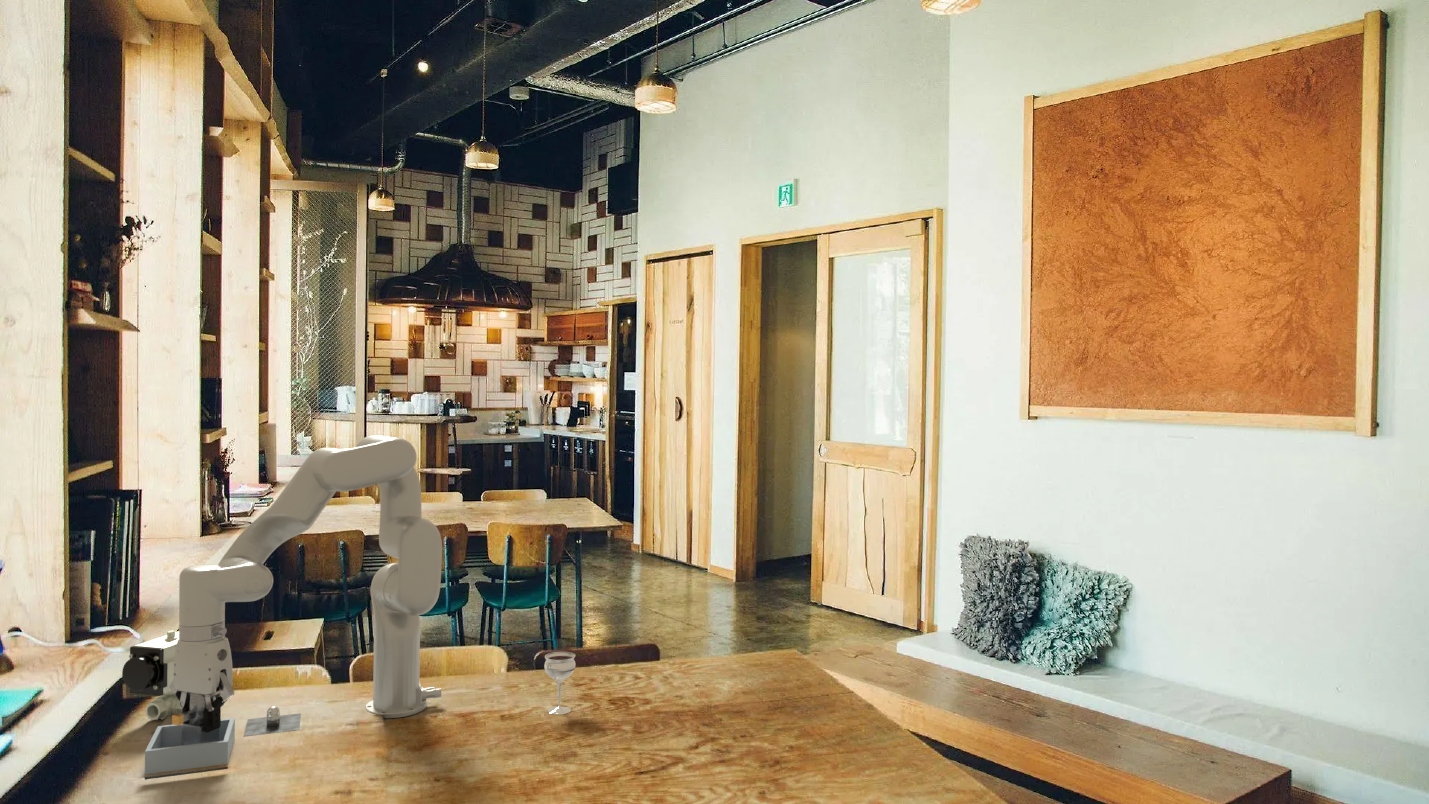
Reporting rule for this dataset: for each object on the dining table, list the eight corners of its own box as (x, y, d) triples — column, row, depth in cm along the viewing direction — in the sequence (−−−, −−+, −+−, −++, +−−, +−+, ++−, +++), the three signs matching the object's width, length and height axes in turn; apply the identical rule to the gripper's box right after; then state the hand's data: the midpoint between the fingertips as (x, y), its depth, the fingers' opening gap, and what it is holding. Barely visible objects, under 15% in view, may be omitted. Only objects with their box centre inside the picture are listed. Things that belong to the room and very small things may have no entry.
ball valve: (156, 732, 184) (157, 644, 183) (120, 728, 185) (121, 641, 185) (221, 703, 201) (222, 622, 201) (187, 699, 203) (188, 620, 203)
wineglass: (537, 713, 198) (538, 658, 198) (554, 703, 204) (555, 650, 204) (564, 717, 195) (565, 662, 195) (580, 707, 202) (581, 653, 202)
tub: (234, 743, 179) (234, 717, 179) (227, 769, 167) (227, 741, 167) (157, 752, 174) (157, 726, 174) (144, 779, 162) (144, 751, 162)
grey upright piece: (200, 740, 175) (203, 679, 175) (218, 743, 173) (222, 682, 173) (164, 754, 167) (167, 691, 167) (182, 758, 166) (186, 694, 166)
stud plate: (300, 718, 193) (301, 696, 193) (299, 734, 183) (299, 711, 183) (247, 724, 189) (248, 701, 189) (243, 741, 180) (243, 717, 180)
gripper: (253, 630, 173) (253, 726, 173) (184, 622, 178) (183, 716, 178) (221, 641, 166) (220, 741, 166) (149, 632, 171) (149, 729, 171)
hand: (201, 727), depth 172 cm, fingers closed on grey upright piece, 4 cm apart
